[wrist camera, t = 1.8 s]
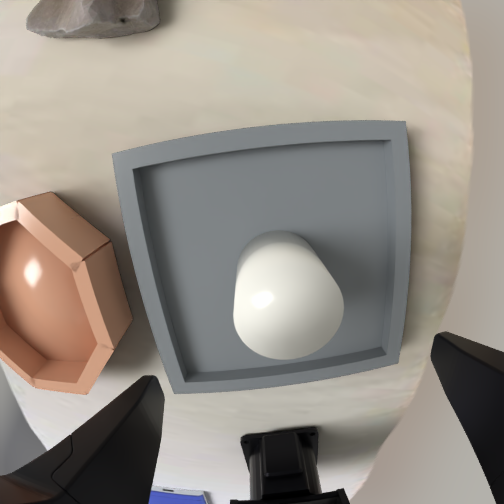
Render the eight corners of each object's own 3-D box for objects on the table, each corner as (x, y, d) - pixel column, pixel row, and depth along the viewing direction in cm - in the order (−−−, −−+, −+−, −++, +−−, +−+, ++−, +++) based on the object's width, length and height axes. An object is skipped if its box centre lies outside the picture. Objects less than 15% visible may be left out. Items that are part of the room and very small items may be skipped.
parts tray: (387, 347, 19) (398, 363, 18) (179, 375, 20) (174, 393, 18) (389, 124, 15) (405, 121, 13) (126, 153, 15) (111, 153, 13)
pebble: (318, 300, 17) (342, 350, 12) (242, 310, 17) (241, 365, 12) (314, 225, 16) (343, 255, 11) (231, 235, 16) (224, 270, 11)
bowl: (149, 365, 20) (135, 398, 16) (25, 360, 20) (6, 382, 16) (99, 177, 16) (68, 184, 12) (-24, 217, 16) (-54, 229, 13)
